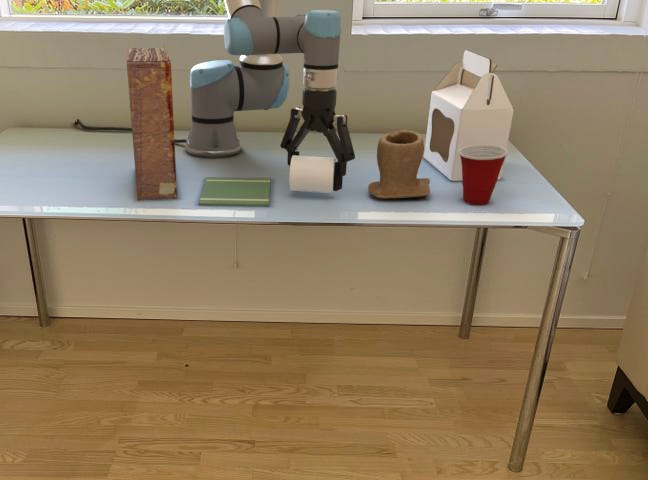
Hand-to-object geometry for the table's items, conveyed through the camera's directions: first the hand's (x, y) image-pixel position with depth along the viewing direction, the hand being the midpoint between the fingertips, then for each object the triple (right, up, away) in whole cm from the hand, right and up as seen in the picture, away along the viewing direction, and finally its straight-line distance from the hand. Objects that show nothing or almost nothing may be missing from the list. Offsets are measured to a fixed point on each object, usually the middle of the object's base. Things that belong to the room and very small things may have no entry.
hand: (315, 184), depth 171 cm
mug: (0, -1, +1) cm, 1 cm away
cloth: (-19, -1, +2) cm, 19 cm away
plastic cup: (+37, -5, -3) cm, 37 cm away
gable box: (+40, +9, +20) cm, 46 cm away
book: (-39, +2, +7) cm, 39 cm away
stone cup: (+20, -3, 0) cm, 20 cm away
